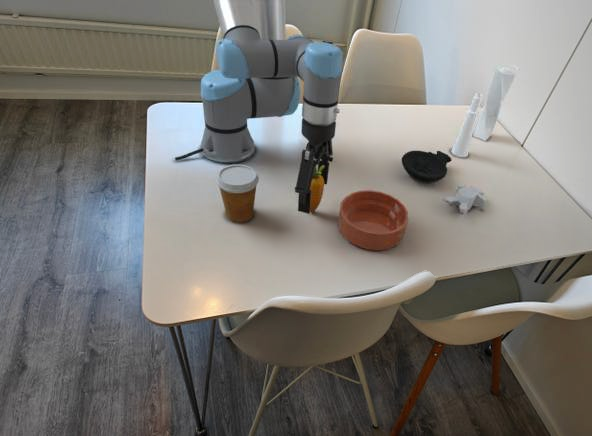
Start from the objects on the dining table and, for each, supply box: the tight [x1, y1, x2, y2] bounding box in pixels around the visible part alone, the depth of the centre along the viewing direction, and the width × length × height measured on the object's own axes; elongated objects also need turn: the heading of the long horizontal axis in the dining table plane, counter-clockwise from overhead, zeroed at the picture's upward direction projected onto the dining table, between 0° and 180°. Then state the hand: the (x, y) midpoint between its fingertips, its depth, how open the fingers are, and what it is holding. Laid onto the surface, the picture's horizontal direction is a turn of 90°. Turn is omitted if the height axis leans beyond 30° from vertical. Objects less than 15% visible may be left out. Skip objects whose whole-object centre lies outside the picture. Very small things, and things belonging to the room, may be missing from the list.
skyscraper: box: [472, 64, 519, 142], centre depth 148 cm, size 8×8×28 cm
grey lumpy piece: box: [442, 185, 487, 215], centre depth 117 cm, size 10×5×15 cm
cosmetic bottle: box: [450, 92, 483, 158], centre depth 136 cm, size 6×6×22 cm
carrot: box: [309, 165, 325, 214], centre depth 100 cm, size 5×5×15 cm
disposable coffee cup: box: [215, 163, 260, 223], centre depth 97 cm, size 10×10×12 cm
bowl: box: [337, 189, 409, 251], centre depth 102 cm, size 17×17×6 cm
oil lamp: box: [401, 150, 452, 184], centre depth 127 cm, size 15×20×5 cm
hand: (313, 196), depth 102 cm, fingers open, 13 cm apart
